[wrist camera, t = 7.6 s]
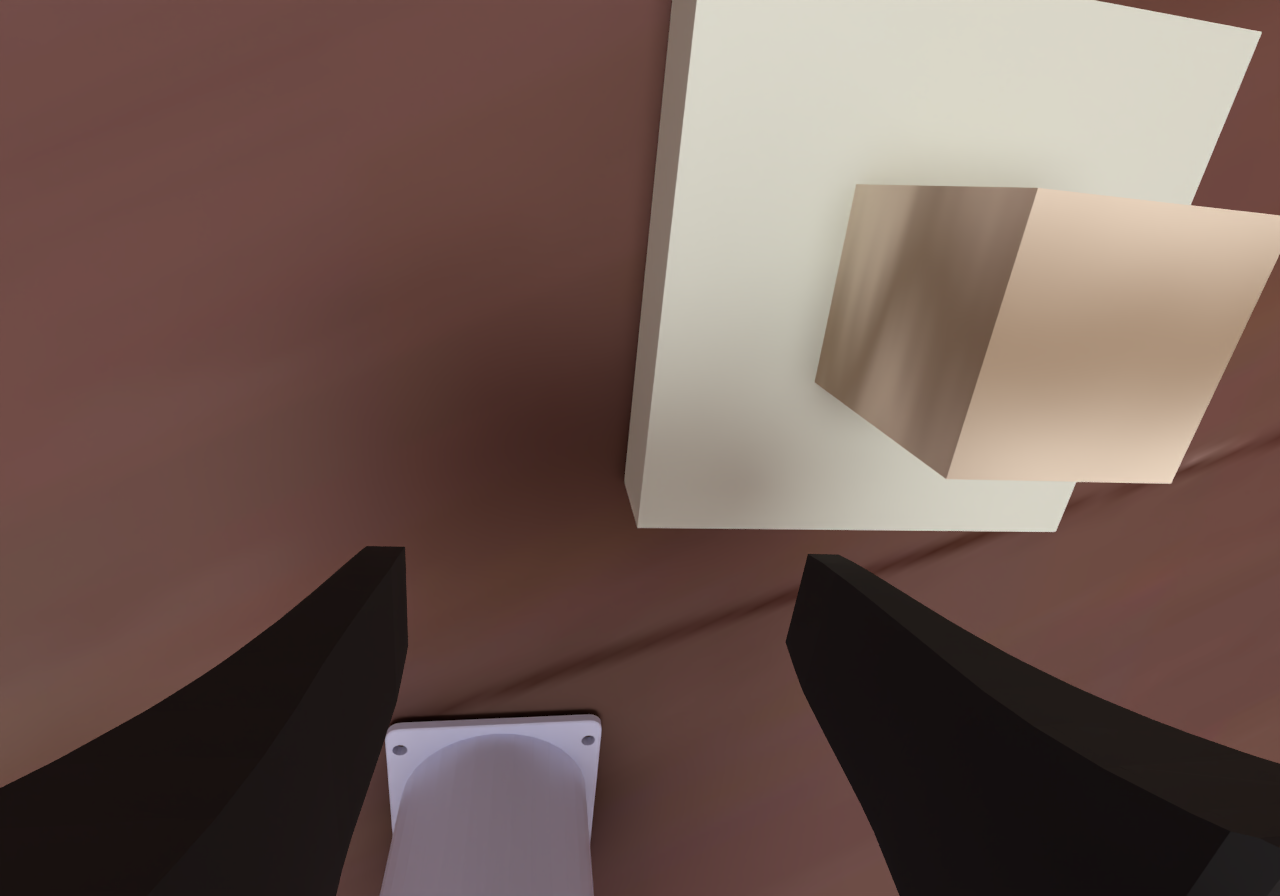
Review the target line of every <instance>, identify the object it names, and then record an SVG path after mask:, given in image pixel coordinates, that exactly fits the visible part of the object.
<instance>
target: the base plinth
mask: <svg viewBox="0 0 1280 896" xmlns="http://www.w3.org/2000/svg"><path fill="white" fill-rule="evenodd" d="M1261 33H1262V32H1260V31H1254V30H1249V29H1244V28H1238V27H1233V26H1228V25H1222V24H1217V23H1212V22H1207V21H1201V20H1196V19H1191V18H1185V17H1180V16H1175V15H1169V14H1164V13H1159V12H1154V11H1148V10H1143V9H1138V8H1132V7H1127V6H1122V5H1116V4H1111V3H1106V2H1101V1H1095V0H672V7H671V17H670V27H669V37H668V47H667V57H666V67H665V77H664V87H663V97H662V107H661V117H660V127H659V137H658V147H657V157H656V167H655V177H654V187H653V197H652V207H651V217H650V227H649V237H648V247H647V257H646V267H645V277H644V287H643V297H642V307H641V317H640V327H639V337H638V347H637V357H636V367H635V377H634V387H633V397H632V407H631V418H630V428H629V438H628V448H627V458H626V468H625V478H624V483H625V487H626V490H627V494H628V497H629V501H630V504H631V508H632V511H633V515H634V518H635V522H636V525H637V528H697V529H804V530H910V531H1017V532H1056V530H1057V527H1058V525H1059V522H1060V520H1061V518H1062V515H1063V513H1064V510H1065V508H1066V506H1067V503H1068V501H1069V498H1070V496H1071V493H1072V491H1073V489H1074V486H1075V484H1076V482H1064V481H1013V480H962V479H945V478H944V477H942V476H941V475H940V474H938V473H937V472H936V471H934V470H933V469H932V468H930V467H929V466H928V465H926V464H925V463H923V462H922V461H921V460H919V459H918V458H917V457H915V456H914V455H913V454H911V453H910V452H909V451H907V450H906V449H904V448H903V447H902V446H900V445H899V444H898V443H896V442H895V441H894V440H892V439H891V438H890V437H888V436H887V435H885V434H884V433H883V432H881V431H880V430H879V429H877V428H876V427H875V426H873V425H872V424H870V423H869V422H868V421H866V420H865V419H864V418H862V417H861V416H860V415H858V414H857V413H856V412H854V411H853V410H851V409H850V408H849V407H847V406H846V405H845V404H843V403H842V402H841V401H839V400H838V399H837V398H835V397H834V396H832V395H831V394H830V393H828V392H827V391H826V390H824V389H823V388H822V387H820V386H819V385H817V384H816V383H815V378H816V373H817V368H818V364H819V359H820V354H821V349H822V345H823V340H824V335H825V330H826V326H827V321H828V316H829V311H830V307H831V302H832V297H833V292H834V288H835V283H836V278H837V273H838V269H839V264H840V259H841V254H842V250H843V245H844V240H845V235H846V231H847V226H848V221H849V216H850V212H851V207H852V202H853V197H854V193H855V188H856V184H868V185H919V186H970V187H1021V188H1044V189H1053V190H1061V191H1070V192H1079V193H1087V194H1096V195H1105V196H1114V197H1122V198H1131V199H1140V200H1148V201H1157V202H1166V203H1174V204H1183V205H1191V203H1192V200H1193V198H1194V196H1195V193H1196V191H1197V188H1198V186H1199V184H1200V181H1201V179H1202V176H1203V174H1204V171H1205V169H1206V167H1207V164H1208V162H1209V159H1210V157H1211V154H1212V152H1213V150H1214V147H1215V145H1216V142H1217V140H1218V138H1219V135H1220V133H1221V130H1222V128H1223V125H1224V123H1225V121H1226V118H1227V116H1228V113H1229V111H1230V108H1231V106H1232V104H1233V101H1234V99H1235V96H1236V94H1237V92H1238V89H1239V87H1240V84H1241V82H1242V79H1243V77H1244V75H1245V72H1246V70H1247V67H1248V65H1249V62H1250V60H1251V58H1252V55H1253V53H1254V50H1255V48H1256V45H1257V43H1258V41H1259V38H1260V36H1261Z"/></svg>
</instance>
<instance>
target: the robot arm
mask: <svg viewBox="0 0 1280 896" xmlns="http://www.w3.org/2000/svg"><path fill="white" fill-rule="evenodd" d="M786 644H787V647H788V650H789V653H790V657H791V660H792V663H793V666H794V669H795V671H796V674H797V677H798V679H799V682H800V685H801V687H802V690H803V692H804V694H805V696H806V699H807V701H808V703H809V705H810V707H811V709H812V711H813V713H814V715H815V716H816V718H817V720H818V722H819V724H820V726H821V728H822V730H823V732H824V734H825V736H826V738H827V740H828V742H829V744H830V746H831V748H832V750H833V751H834V753H835V755H836V757H837V759H838V761H839V763H840V765H841V767H842V769H843V771H844V773H845V775H846V776H847V778H848V780H849V782H850V784H851V786H852V788H853V790H854V792H855V794H856V796H857V798H858V800H859V801H860V803H861V805H862V808H863V810H864V812H865V814H866V816H867V818H868V820H869V822H870V825H871V827H872V829H873V831H874V833H875V836H876V838H877V841H878V843H879V846H880V848H881V851H882V853H883V856H884V858H885V860H886V863H887V865H888V868H889V870H890V873H891V875H892V878H893V880H894V883H895V885H896V888H897V890H898V893H899V895H900V896H1280V764H1279V763H1276V762H1272V761H1269V760H1266V759H1262V758H1259V757H1256V756H1253V755H1250V754H1247V753H1244V752H1241V751H1238V750H1235V749H1232V748H1229V747H1227V746H1224V745H1221V744H1218V743H1215V742H1212V741H1209V740H1207V739H1204V738H1201V737H1198V736H1195V735H1192V734H1189V733H1187V732H1184V731H1181V730H1179V729H1176V728H1173V727H1171V726H1168V725H1165V724H1163V723H1160V722H1158V721H1155V720H1152V719H1150V718H1147V717H1145V716H1142V715H1140V714H1138V713H1135V712H1133V711H1130V710H1128V709H1125V708H1123V707H1121V706H1118V705H1116V704H1113V703H1111V702H1109V701H1106V700H1104V699H1101V698H1099V697H1097V696H1094V695H1092V694H1090V693H1088V692H1085V691H1083V690H1081V689H1079V688H1076V687H1074V686H1072V685H1070V684H1068V683H1066V682H1064V681H1062V680H1059V679H1057V678H1055V677H1053V676H1051V675H1049V674H1047V673H1045V672H1043V671H1041V670H1039V669H1037V668H1035V667H1033V666H1031V665H1029V664H1027V663H1025V662H1023V661H1021V660H1019V659H1017V658H1015V657H1013V656H1011V655H1009V654H1007V653H1005V652H1004V651H1002V650H1000V649H998V648H996V647H995V646H993V645H991V644H989V643H987V642H986V641H984V640H982V639H980V638H978V637H977V636H975V635H973V634H971V633H970V632H968V631H966V630H964V629H963V628H961V627H959V626H957V625H956V624H954V623H952V622H951V621H949V620H947V619H946V618H944V617H942V616H941V615H939V614H937V613H936V612H934V611H932V610H931V609H929V608H928V607H926V606H924V605H923V604H921V603H919V602H918V601H916V600H915V599H913V598H911V597H910V596H908V595H907V594H905V593H903V592H902V591H900V590H899V589H897V588H895V587H894V586H892V585H890V584H889V583H887V582H886V581H884V580H882V579H881V578H879V577H878V576H876V575H874V574H873V573H871V572H869V571H868V570H866V569H864V568H862V567H861V566H859V565H857V564H855V563H854V562H852V561H850V560H848V559H846V558H844V557H842V556H840V555H828V554H808V556H807V560H806V564H805V568H804V572H803V576H802V580H801V584H800V588H799V592H798V596H797V600H796V604H795V607H794V611H793V615H792V619H791V623H790V627H789V631H788V635H787V639H786ZM407 648H408V630H407V597H406V563H405V547H380V546H366V547H365V548H364V549H362V550H361V551H360V552H359V553H358V554H356V555H355V556H354V557H353V558H352V559H350V560H349V561H348V562H347V563H346V564H345V565H343V566H342V567H341V568H340V569H339V570H338V571H337V572H335V573H334V574H333V575H332V576H331V577H330V578H329V579H327V580H326V581H325V582H324V583H323V584H322V585H320V586H319V587H318V588H317V589H316V590H315V591H313V592H312V593H311V594H310V595H309V596H308V597H306V598H305V599H304V600H303V601H301V602H300V603H299V604H298V605H297V606H295V607H294V608H293V609H292V610H291V611H289V612H288V613H287V614H286V615H284V616H283V617H282V618H281V619H280V620H278V621H277V622H276V623H274V624H273V625H272V626H270V627H269V628H268V629H266V630H265V631H264V632H262V633H261V634H260V635H258V636H257V637H256V638H254V639H253V640H252V641H250V642H249V643H248V644H246V645H245V646H244V647H242V648H241V649H240V650H238V651H237V652H236V653H234V654H233V655H232V656H230V657H229V658H227V659H226V660H225V661H223V662H222V663H220V664H219V665H217V666H216V667H214V668H213V669H211V670H210V671H208V672H207V673H205V674H204V675H202V676H201V677H199V678H198V679H196V680H195V681H193V682H192V683H190V684H188V685H187V686H185V687H184V688H182V689H180V690H179V691H177V692H176V693H174V694H172V695H171V696H169V697H168V698H166V699H164V700H163V701H161V702H160V703H158V704H156V705H155V706H153V707H151V708H150V709H148V710H146V711H145V712H143V713H141V714H139V715H137V716H136V717H134V718H132V719H130V720H128V721H127V722H125V723H123V724H121V725H119V726H118V727H116V728H114V729H112V730H110V731H108V732H107V733H105V734H103V735H101V736H99V737H98V738H96V739H94V740H92V741H90V742H89V743H87V744H85V745H83V746H81V747H80V748H78V749H76V750H74V751H72V752H70V753H69V754H67V755H65V756H63V757H61V758H59V759H57V760H56V761H54V762H52V763H50V764H48V765H46V766H44V767H42V768H40V769H38V770H36V771H34V772H32V773H30V774H28V775H26V776H24V777H22V778H20V779H18V780H16V781H14V782H12V783H10V784H8V785H6V786H4V787H2V788H0V896H336V893H337V889H338V885H339V880H340V876H341V872H342V868H343V865H344V861H345V858H346V855H347V851H348V848H349V844H350V841H351V837H352V834H353V831H354V828H355V825H356V823H357V820H358V817H359V814H360V811H361V808H362V805H363V802H364V799H365V796H366V793H367V790H368V787H369V784H370V781H371V778H372V775H373V772H374V769H375V766H376V763H377V760H378V757H379V754H380V751H381V748H382V745H383V742H384V739H385V745H386V758H387V770H388V783H389V795H390V808H391V821H392V833H393V837H392V842H391V846H390V851H389V855H388V860H387V864H386V869H385V874H384V878H383V883H382V887H381V892H380V896H594V890H593V877H592V865H591V852H590V840H591V830H592V820H593V810H594V800H595V791H596V781H597V771H598V761H599V751H600V742H601V732H602V727H601V720H600V719H599V717H598V716H596V715H591V714H583V715H561V716H538V717H516V718H493V719H471V720H448V721H426V722H403V723H396V724H393V725H392V726H390V727H389V724H390V721H391V718H392V715H393V712H394V709H395V705H396V702H397V698H398V693H399V688H400V684H401V679H402V674H403V669H404V664H405V659H406V654H407ZM388 727H389V728H388ZM386 733H387V734H386ZM588 735H589V736H590V737H585V736H588ZM385 736H386V738H385ZM397 745H403V747H401V746H397Z"/></svg>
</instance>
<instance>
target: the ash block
mask: <svg viewBox="0 0 1280 896" xmlns="http://www.w3.org/2000/svg"><path fill="white" fill-rule="evenodd" d="M1279 254H1280V216H1279V215H1270V214H1261V213H1253V212H1244V211H1235V210H1227V209H1218V208H1209V207H1200V206H1192V205H1183V204H1174V203H1166V202H1157V201H1148V200H1140V199H1131V198H1122V197H1114V196H1105V195H1096V194H1087V193H1079V192H1070V191H1061V190H1053V189H1044V188H1021V187H970V186H919V185H868V184H856V188H855V193H854V197H853V202H852V207H851V212H850V216H849V221H848V226H847V231H846V235H845V240H844V245H843V250H842V254H841V259H840V264H839V269H838V273H837V278H836V283H835V288H834V292H833V297H832V302H831V307H830V311H829V316H828V321H827V326H826V330H825V335H824V340H823V345H822V349H821V354H820V359H819V364H818V368H817V373H816V378H815V383H816V384H817V385H819V386H820V387H822V388H823V389H824V390H826V391H827V392H828V393H830V394H831V395H832V396H834V397H835V398H837V399H838V400H839V401H841V402H842V403H843V404H845V405H846V406H847V407H849V408H850V409H851V410H853V411H854V412H856V413H857V414H858V415H860V416H861V417H862V418H864V419H865V420H866V421H868V422H869V423H870V424H872V425H873V426H875V427H876V428H877V429H879V430H880V431H881V432H883V433H884V434H885V435H887V436H888V437H890V438H891V439H892V440H894V441H895V442H896V443H898V444H899V445H900V446H902V447H903V448H904V449H906V450H907V451H909V452H910V453H911V454H913V455H914V456H915V457H917V458H918V459H919V460H921V461H922V462H923V463H925V464H926V465H928V466H929V467H930V468H932V469H933V470H934V471H936V472H937V473H938V474H940V475H941V476H942V477H944V478H945V479H962V480H1013V481H1064V482H1115V483H1167V484H1171V483H1172V480H1173V478H1174V476H1175V474H1176V472H1177V470H1178V468H1179V466H1180V464H1181V461H1182V459H1183V457H1184V455H1185V453H1186V451H1187V449H1188V447H1189V444H1190V442H1191V440H1192V438H1193V436H1194V434H1195V432H1196V430H1197V428H1198V425H1199V423H1200V421H1201V419H1202V417H1203V415H1204V413H1205V411H1206V409H1207V406H1208V404H1209V402H1210V400H1211V398H1212V396H1213V394H1214V392H1215V390H1216V387H1217V385H1218V383H1219V381H1220V379H1221V377H1222V375H1223V373H1224V371H1225V368H1226V366H1227V364H1228V362H1229V360H1230V358H1231V356H1232V354H1233V351H1234V349H1235V347H1236V345H1237V343H1238V341H1239V339H1240V337H1241V335H1242V332H1243V330H1244V328H1245V326H1246V324H1247V322H1248V320H1249V318H1250V316H1251V313H1252V311H1253V309H1254V307H1255V305H1256V303H1257V301H1258V299H1259V297H1260V294H1261V292H1262V290H1263V288H1264V286H1265V284H1266V282H1267V280H1268V278H1269V275H1270V273H1271V271H1272V269H1273V267H1274V265H1275V263H1276V261H1277V258H1278V256H1279Z"/></svg>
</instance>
